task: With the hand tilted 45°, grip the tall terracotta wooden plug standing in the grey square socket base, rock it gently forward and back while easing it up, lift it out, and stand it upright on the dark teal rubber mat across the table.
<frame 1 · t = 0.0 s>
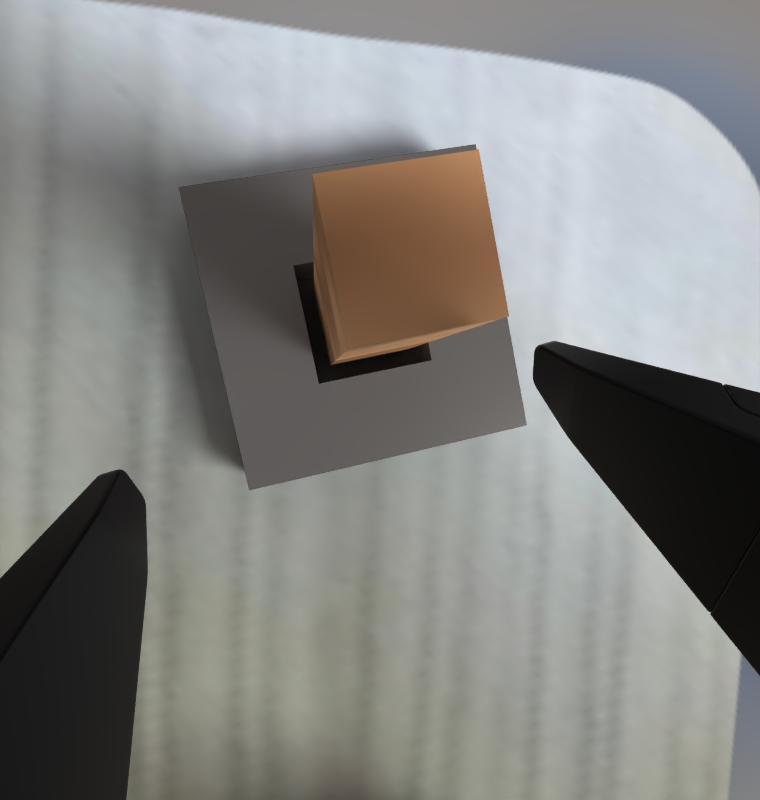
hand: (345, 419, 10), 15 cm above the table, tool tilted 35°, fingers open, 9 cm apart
plug: (375, 299, 18), in the grey square socket base
grey square socket base: (358, 322, 24), on the table
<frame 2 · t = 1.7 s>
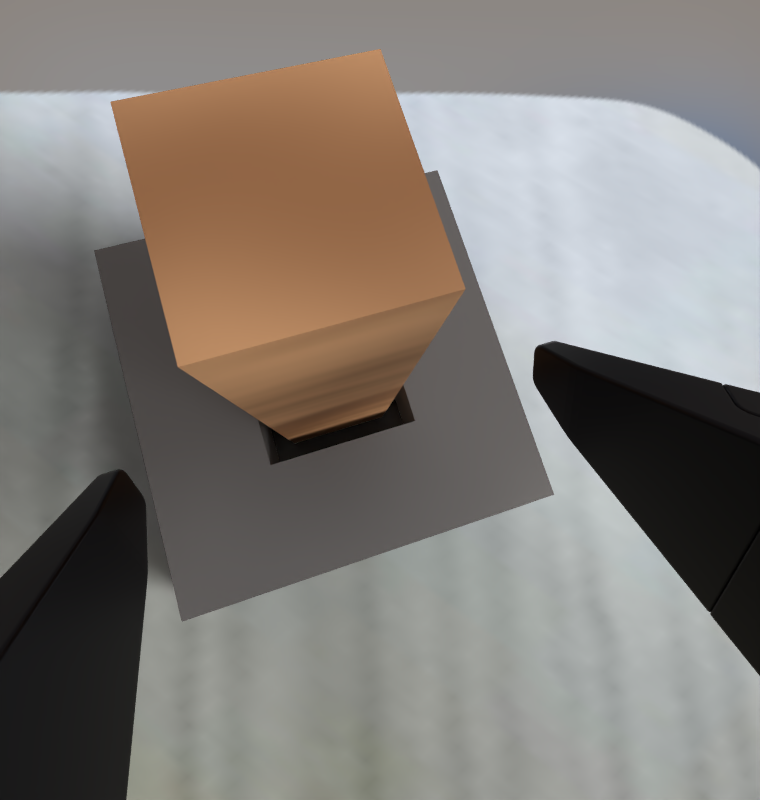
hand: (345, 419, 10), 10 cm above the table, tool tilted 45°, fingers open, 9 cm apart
plug: (316, 341, 13), in the grey square socket base
grey square socket base: (326, 387, 20), on the table
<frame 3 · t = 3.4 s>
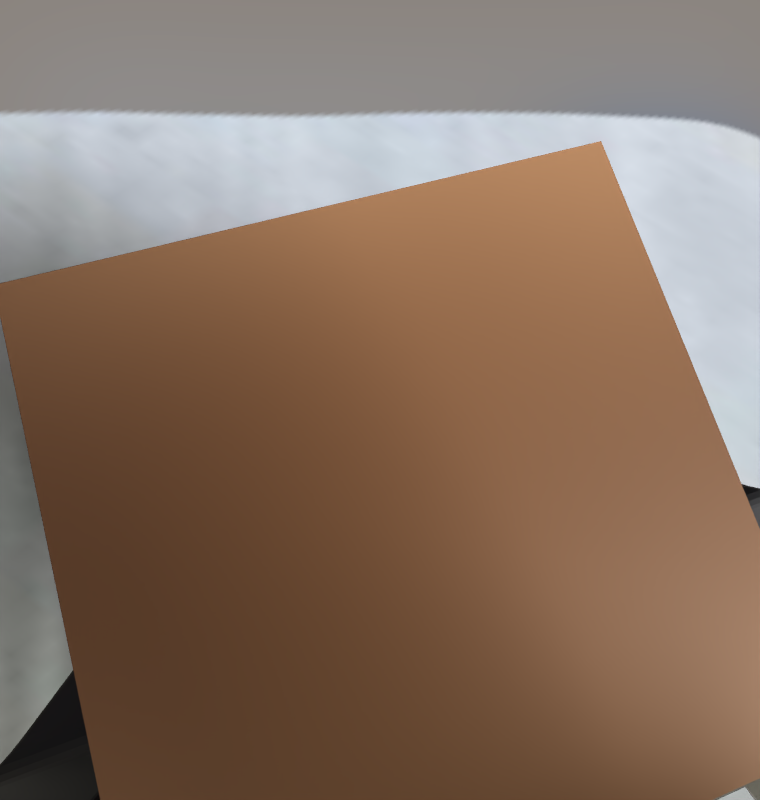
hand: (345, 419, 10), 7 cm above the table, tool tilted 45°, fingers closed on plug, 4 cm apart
plug: (363, 482, 10), in the grey square socket base, touching gripper
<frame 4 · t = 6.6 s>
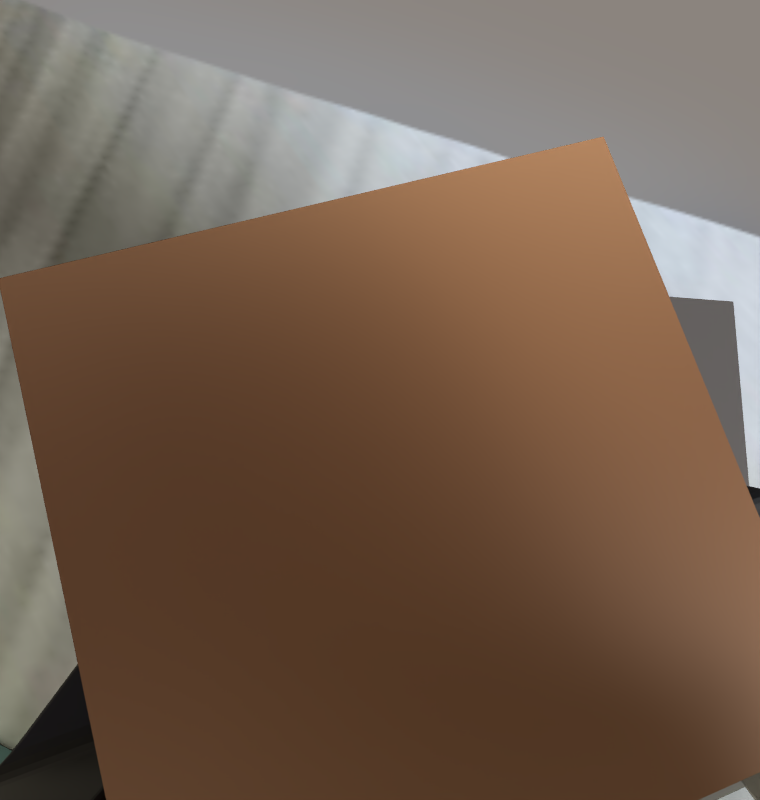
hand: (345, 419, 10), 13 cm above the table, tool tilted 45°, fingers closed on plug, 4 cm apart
plug: (364, 480, 10), point 13 cm above the table, touching gripper
grey square socket base: (572, 438, 24), on the table
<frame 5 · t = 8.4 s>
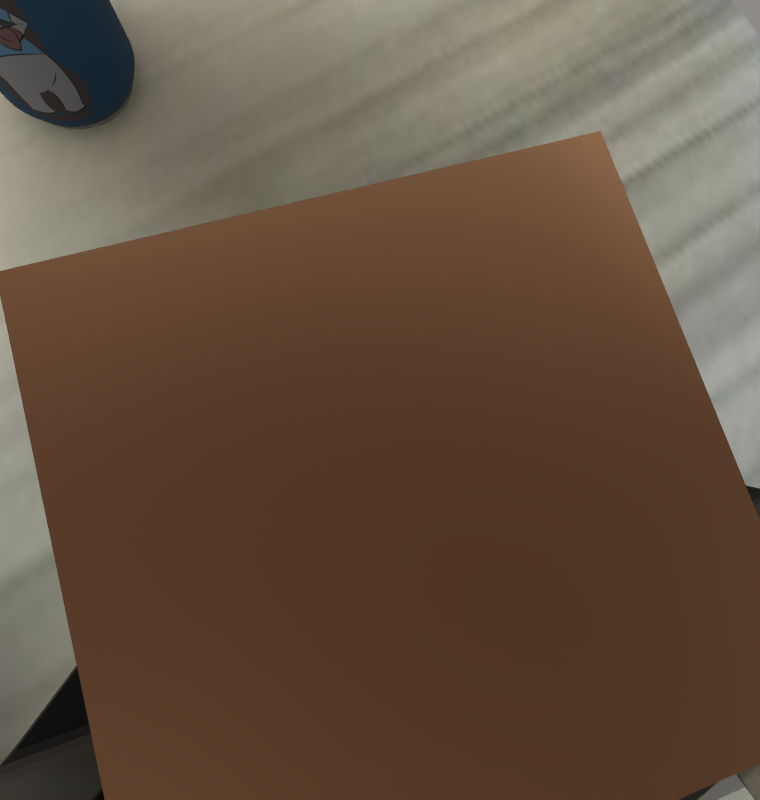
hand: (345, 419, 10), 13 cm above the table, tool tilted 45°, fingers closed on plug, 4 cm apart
soda can: (81, 86, 25), on the table
plug: (364, 478, 10), point 13 cm above the table, touching gripper
when the fingers open (9 cm above the table, at t = 10.0 s): plug drops 1 cm, resting on mat.
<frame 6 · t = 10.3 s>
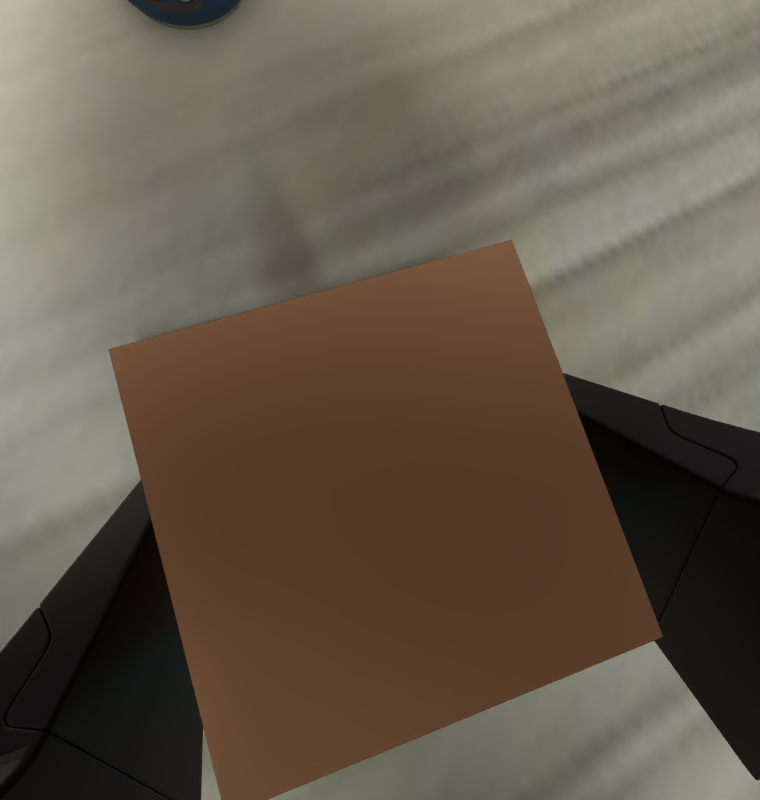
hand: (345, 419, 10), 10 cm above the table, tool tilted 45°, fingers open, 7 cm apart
plug: (358, 479, 11), on the mat, point 8 cm above the table
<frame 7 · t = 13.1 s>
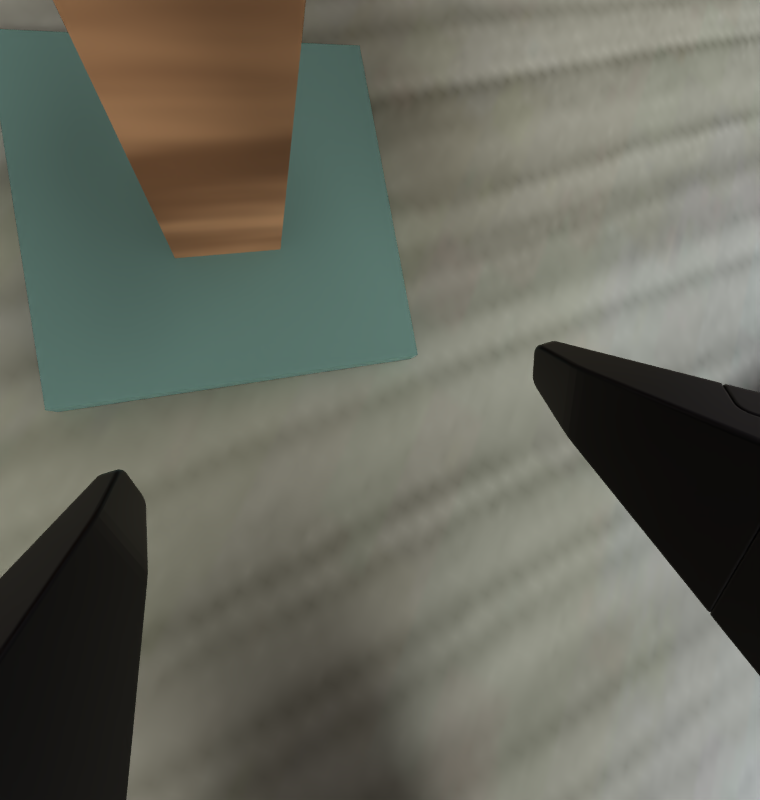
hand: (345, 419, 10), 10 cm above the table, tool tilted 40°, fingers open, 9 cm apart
plug: (195, 61, 11), on the mat, point 8 cm above the table
mat: (223, 218, 19), on the table
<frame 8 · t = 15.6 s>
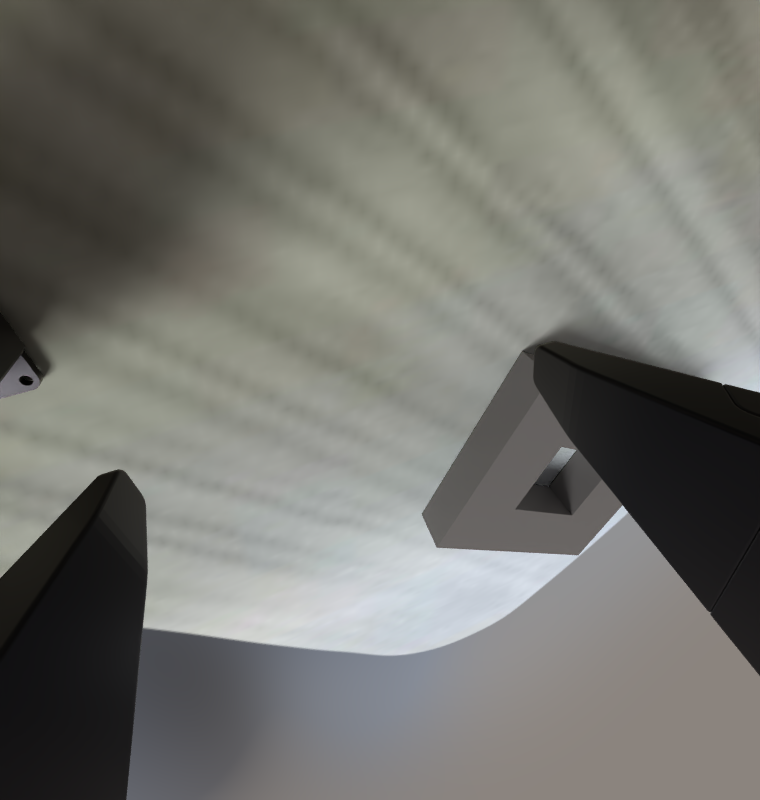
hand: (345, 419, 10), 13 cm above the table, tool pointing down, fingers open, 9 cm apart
grey square socket base: (542, 455, 33), on the table
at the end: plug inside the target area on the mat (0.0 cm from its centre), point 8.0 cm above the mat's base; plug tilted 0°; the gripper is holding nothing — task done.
